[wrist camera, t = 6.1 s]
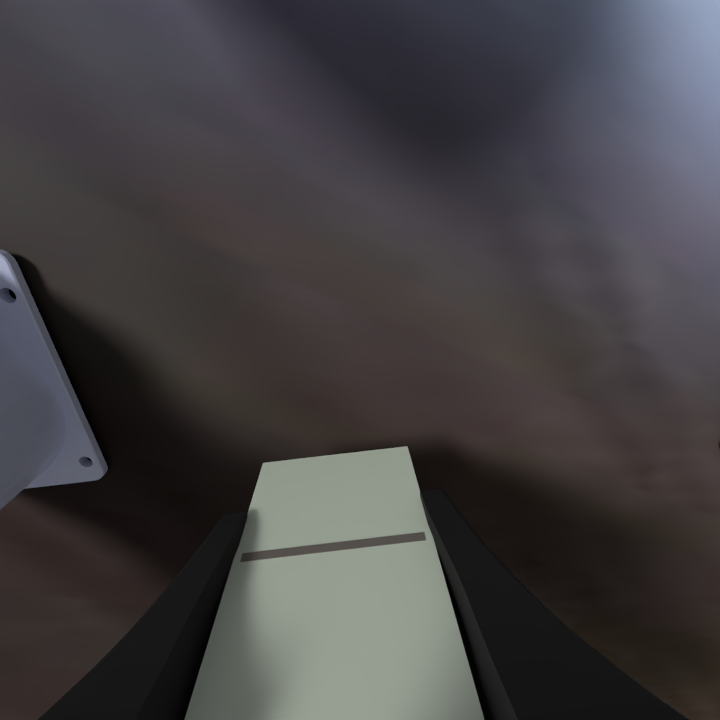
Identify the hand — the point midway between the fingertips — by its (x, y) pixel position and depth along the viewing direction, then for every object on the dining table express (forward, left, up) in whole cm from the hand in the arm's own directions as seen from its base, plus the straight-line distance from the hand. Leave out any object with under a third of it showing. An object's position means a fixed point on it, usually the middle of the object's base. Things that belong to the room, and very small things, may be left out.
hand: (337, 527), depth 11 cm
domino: (0, 0, -2) cm, 2 cm away
